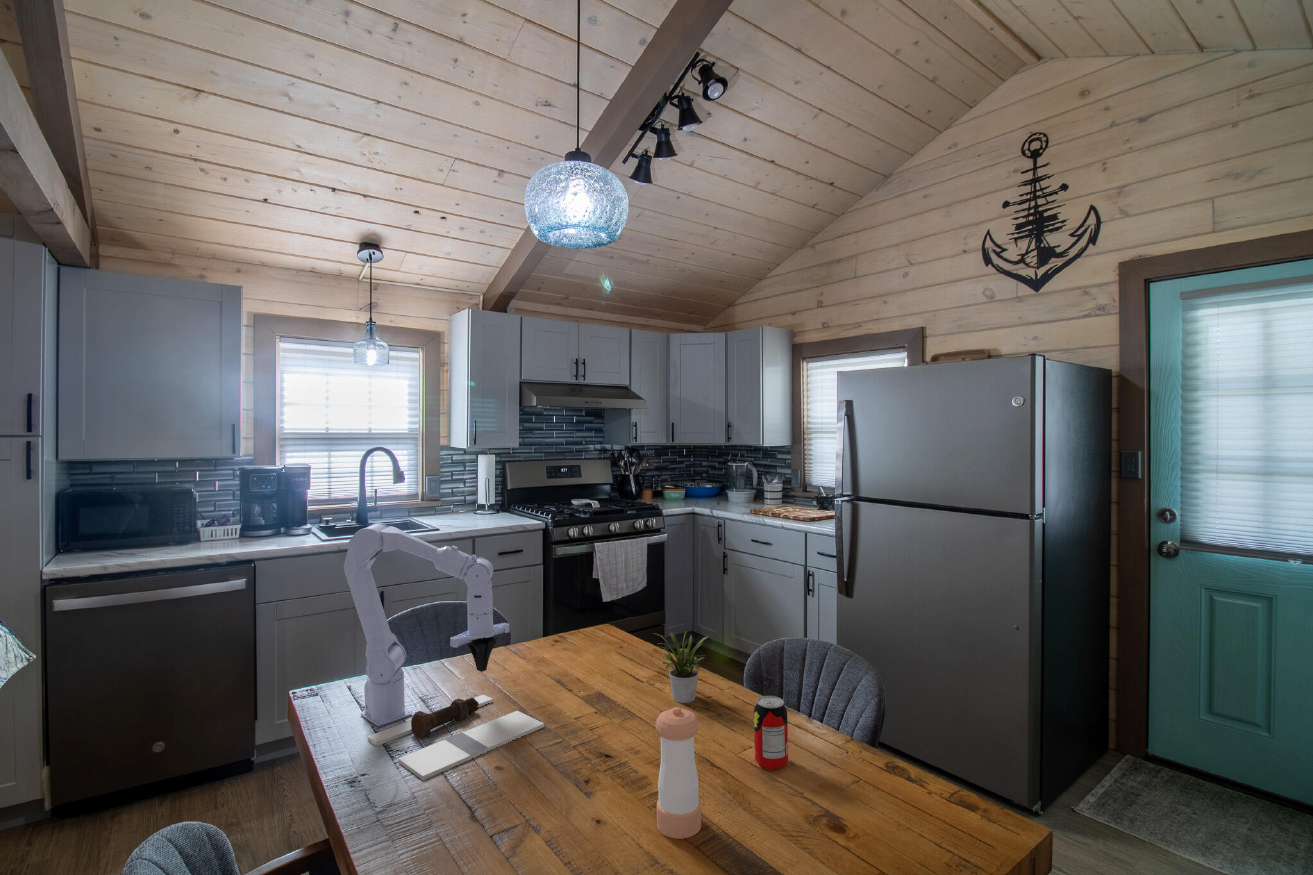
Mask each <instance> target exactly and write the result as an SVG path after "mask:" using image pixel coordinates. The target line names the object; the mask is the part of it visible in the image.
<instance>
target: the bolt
mask: <svg viewBox="0 0 1313 875" xmlns="http://www.w3.org/2000/svg"><path fill="white" fill-rule="evenodd" d="M474 698H475V697H470V698H467V699H465V700H464V699H461V698H456V699H453V701H452V702H451V704H450V705H449V706H446V707H444V708H443V707H442V708H440V709H438V710H436V711H433V712H431V713H427V712H425V711H422V710H418V711H416V712H414V714H412V717H411V720H410V721H411V729H412V734H413V735H414V736H415V738H418V739H419V740H424V738H425V739H427V738H429V736H430V733H431V731H432V730H434V729H436V728H439V727H440V726H442V725H445V724H447V723H448V724H449V723H450V722H453V721H456V722H463V721H465V720H466V719H467V718H468V716H469V715H470V714H473V713H475V712H477V711H478V709H479V708H478V705H479V703H478V702H477V701H476V700H475V699H474Z"/></svg>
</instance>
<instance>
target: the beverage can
mask: <svg viewBox="0 0 1313 875" xmlns="http://www.w3.org/2000/svg"><path fill="white" fill-rule="evenodd" d="M753 727H754V728H753V729H754V730H753V734H754V735H753V736H754V738H753V740H754V744H753V745H754V759H755V761H756V763H757V764H758V765H759V766H760V767H762V768H763V769H766V770H770V771H776V770H780V769H782V768H783V767H785V766H786V765H787V764H788V761H789V741H788V740H789V734H788V710H787V708H786V706H785V702H784V700H783V699H782V698H781V697H779V696H775V695H763V696H761V697H758V698H757V699H756V704H755V706H754V708H753Z"/></svg>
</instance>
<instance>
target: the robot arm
mask: <svg viewBox="0 0 1313 875" xmlns="http://www.w3.org/2000/svg"><path fill="white" fill-rule="evenodd" d="M458 549H459V547H458V546H455V545H452V546H449V545H445V546H443V547H437V546H435V545H433V544H431V543H429V542H426V541H424V540H423V539H420V538H418V537H416V536H413V534H412V535H411V534H410V533H407V532H405V531H403V530H401V529H400V528H397V527H395V526H391V525H387V524H386V523H383V522H375V523H372V524H371V525H369V526H367V527H365V528H361V529H359V530H357V531H356V532H355V533H354V534H353V536H351V538H350V540H349V541H348V542H347V552H346V556H345V560H344V563H343V571H344V574H345V578H346V581H347V584H348V587H349V590H350V594H351V598H352V600H353V602H354V606H355V609H356V612H357V614H358V615H357V616H358V619H359V622H360V624H361V628H362V630H363V633H364V637H365V640H366V646H365V658H366V666H365V673H366V675H367V679H366V681H365V683H364V711H363V712H361V713H360V716H362V717H363V718H365V719H366V720H368V721H369V722H371V723H372V724H374V725H375V726H377V727H381V726H385V725H387V724H391V723H394V722H395V721H399V720H401V719H404V718H407V717H410V716H413V712H412V711H411V710H408V709H407V708H405V707H406V706H405V705H406V703H405V675H404V674H405V673H404V671H403V669H402V665H404V663H405V661H406V658H407V653H406V650H405V647H404V646H403V645H402V644H401V643H400V642H399V640H398V638H397V635H395V634H394V633H393V632H392V631H391V628H390V625H389V623H388V622H389V621H388V620H387V617H386V614H385V610H384V607H383V604H382V601H381V598H380V594H379V591H378V588H377V584H376V581H375V579H374V575H373V573H372V569H371V567H372V565H373V564H374V562H375V561H376V559H377V558H378V556H379V555H380V554H381V553H387V552H392V551H397V550H398V551H402V552H405V553H408V554H411V555H413V556H416V557H418V558H422V559H425V560H427V561H430V562H432V564H433V565H434V568H435V570H437V571H440V572H443V573H445V574H447V575H449V576H453V577H455V578H457V579H459V580H464V583H465V584H466V585H467V586H466V587H467V588H466V589H467V594H466V601H467V602H466V606H467V607H466V609H467V613H466V614H467V630H466V631H463V632H462V633H459V634H457V635H455V636H451V637H450V638H449V640H450V642H449V643H450V644H449V645H450V646H449V647H452V648H459V646H462V645H466V646H467V647H468V649H469V651H470V653H471V655H472V657H473V660H474V664H475V667H476V671H479V672H480V673H482V672H486V671H487V667H488V666H489V660H490V657H491V654H492V651H493V649H494V646H496V644H497V639H496V638H495V637H494V636H496V635H501V634H503V633H505V634H507V633H510V623H507V622H501V623H497V624H494V607H493V606H494V604H493V603H494V602H493V601H494V600H493V590H492V587H493V584H492V579H491V578H492V576H493V575H494V566H493V564H492V562H491V561H490V560H488V559H487V558H485V557H477V555H476V554H472V555H470V554H468V553H466V552H464V551H461V550H458Z"/></svg>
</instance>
